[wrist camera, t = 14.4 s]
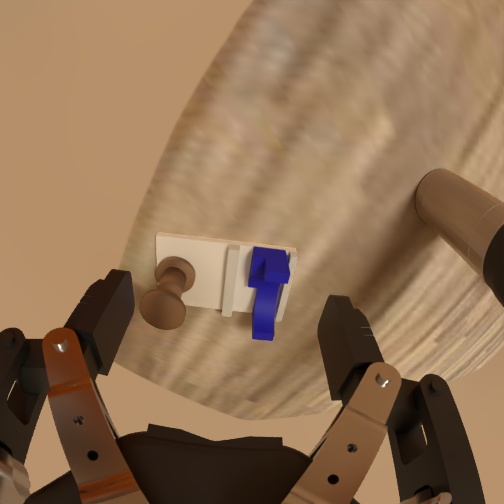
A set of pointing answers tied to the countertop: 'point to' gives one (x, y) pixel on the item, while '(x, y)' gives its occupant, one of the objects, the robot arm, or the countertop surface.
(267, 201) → the countertop surface
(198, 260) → the ridged board
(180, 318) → the walnut knob
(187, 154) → the countertop surface
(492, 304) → the countertop surface
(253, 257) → the cable clip
